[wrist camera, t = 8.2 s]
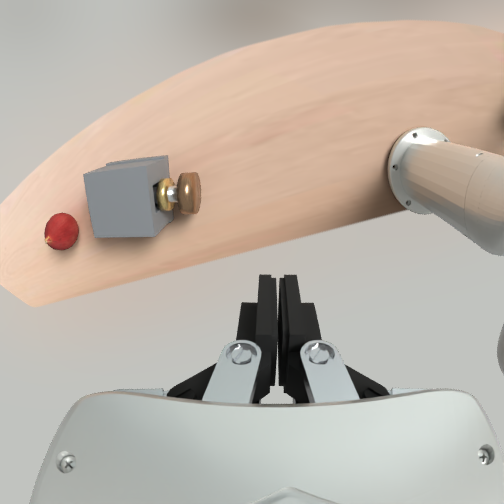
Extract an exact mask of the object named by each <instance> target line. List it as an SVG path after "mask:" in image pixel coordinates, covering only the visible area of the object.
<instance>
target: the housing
mask: <svg viewBox="0 0 504 504" xmlns="http://www.w3.org/2000/svg"><path fill="white" fill-rule="evenodd" d="M83 175H84V182H85V189H86V195H87V201H88V207H89V212H90V217H91V222H92V227H93V232H94V236H95V238H104V237H155V236H156V235H157V234H158V233H159V232H160V231H161V230H162V229H163V228H164V227H165V226H166V224H167V223H171V221H172V220H173V219H174V216H173V209H172V210H170V211H162V210H161V209H160V208H159V206H158V203H155V202H154V194H153V187H157V186H158V183H159V181H160V179H163V178H170V176H169V164H168V155H166V156H156V157H147V158H138V159H131V160H123V161H116V162H111V163H107V164H106V166H105V167H102V168H99V169H96V170H94V171H91V172H88V173H86V174H83Z"/></svg>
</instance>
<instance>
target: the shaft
mask: <svg viewBox="0 0 504 504" xmlns="http://www.w3.org/2000/svg"><path fill="white" fill-rule="evenodd" d="M153 194H154V202H155V203H158V206H159V208H160V209H161V210H162V211H170V210H172V209H173V207H174V204H175V202H178V207H179V210H180V212H181V213H182V214H197V213H198V211H199V208H200V203H201V185H200V179H199V176H198V174H197V173H196V172H192V173H182V174H181V175H180V176H179V179H178V184H177V186H174V182H173V180H172V179H171V178H163V179H160V181H159V183H158V186H157V187H153Z"/></svg>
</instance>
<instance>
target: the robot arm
mask: <svg viewBox="0 0 504 504" xmlns="http://www.w3.org/2000/svg"><path fill="white" fill-rule="evenodd" d="M412 134H413V137H412ZM393 165H394V168H393ZM388 179H389V184H390V187H391V190H392V192H393V194H394V196H395V197H396V199H397V200H398V201H399V202H400V203H401V205H403V206H404V207H405V208H407V209H408V210H410V211H412V212H415V213H418V214H431V213H434V214H435V215H437V216H438V217H440V218H441V219H443V220H444V221H446V222H447V223H448V224H450V225H451V226H453V227H454V228H455V229H457V230H458V231H460V232H461V233H462V234H464V235H465V236H466V237H468V238H469V239H470V240H472V241H473V242H474V243H476V244H477V245H478V246H480V247H481V248H482V249H484V250H485V251H487V252H489V253H491V254H494V255H498V256H504V156H502V155H498V154H495V153H491V152H488V151H484V150H480V149H476V148H472V147H468V146H464V145H459V144H455V143H451V142H450V141H449V139H448V138H447V137H446V136H445V135H444V134H442V133H441V132H439V131H438V130H435V129H432V128H427V127H417V128H413V129H410V130H409V131H407V132H405V133H404V134H403V135H401V136H400V137H399V138H398V140H397V141H396V142H395V144H394V146H393V148H392V150H391V153H390V156H389V160H388ZM406 201H407V202H406ZM277 343H278V370H279V386H284V393H287V394H288V395H289V396H291V397H292V398H293V404H261V399H262V398H263V397H265V396H266V395H267V394H268V393H270V386H274V385H275V375H276V360H277ZM497 357H498V362H499V366H500V368H501V371H502V372H503V374H504V324H503V327H502V330H501V333H500V337H499V341H498V347H497ZM29 504H504V455H503V452H502V449H501V446H500V443H499V441H498V438H497V436H496V433H495V431H494V429H493V426H492V424H491V422H490V420H489V418H488V416H487V414H486V412H485V411H484V409H483V407H482V406H481V404H480V403H479V402H478V400H477V399H476V398H475V397H474V396H473V395H471V394H469V393H467V392H464V391H460V390H455V389H409V388H392V389H391V390H387V389H386V388H385V387H383V386H382V385H380V384H378V383H376V382H375V381H373V380H371V379H369V378H368V377H366V376H364V375H362V374H360V373H359V372H357V371H355V370H353V369H352V368H350V367H348V366H346V365H345V364H344V362H343V360H342V358H341V356H340V354H339V351H338V350H337V348H336V347H335V346H334V345H333V344H331V343H329V342H327V341H323V340H322V339H321V334H320V329H319V324H318V320H317V315H316V311H315V306H314V303H301V300H300V293H299V287H298V281H297V275H284V278H280V282H279V305H278V319H277V293H276V278H271V275H259V289H258V303H244V302H242V303H241V311H240V317H239V325H238V331H237V338H236V341H233V342H231V343H229V344H227V345H226V346H225V347H224V349H223V350H222V352H221V355H220V357H219V360H218V362H217V363H216V364H214V365H213V366H210V367H209V368H207V369H205V370H203V371H202V372H200V373H198V374H196V375H194V376H193V377H191V378H189V379H187V380H185V381H184V382H182V383H180V384H178V385H176V386H174V387H173V388H172V389H170V391H164V390H163V389H119V390H114V391H108V392H100V393H94V394H90V395H87V396H84V397H82V398H81V399H79V400H78V401H77V402H76V403H75V404H74V405H73V406H72V407H71V409H70V410H69V411H68V413H67V414H66V416H65V417H64V419H63V421H62V422H61V424H60V426H59V428H58V430H57V432H56V434H55V436H54V438H53V440H52V442H51V444H50V446H49V449H48V451H47V454H46V456H45V459H44V461H43V464H42V466H41V469H40V472H39V474H38V477H37V480H36V483H35V486H34V489H33V493H32V496H31V499H30V503H29Z"/></svg>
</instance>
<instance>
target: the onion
mask: <svg viewBox="0 0 504 504" xmlns="http://www.w3.org/2000/svg"><path fill="white" fill-rule="evenodd" d="M78 233H79V229H78V225H77V222H76V220H75V219H74V218H73V217H72V216H71V215H69V214H66V213H59V214H55V215H53V216H52V217H51V218H50V220H49V221H48V222H47V224H46V227H45V242H46V243H47V244H48V245H49V246H50V247H51V248H53V249H55V250H65V249H68V248H70V247H71V246H72V245H73V244H74V243H75V242H76V240H77V237H78Z"/></svg>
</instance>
